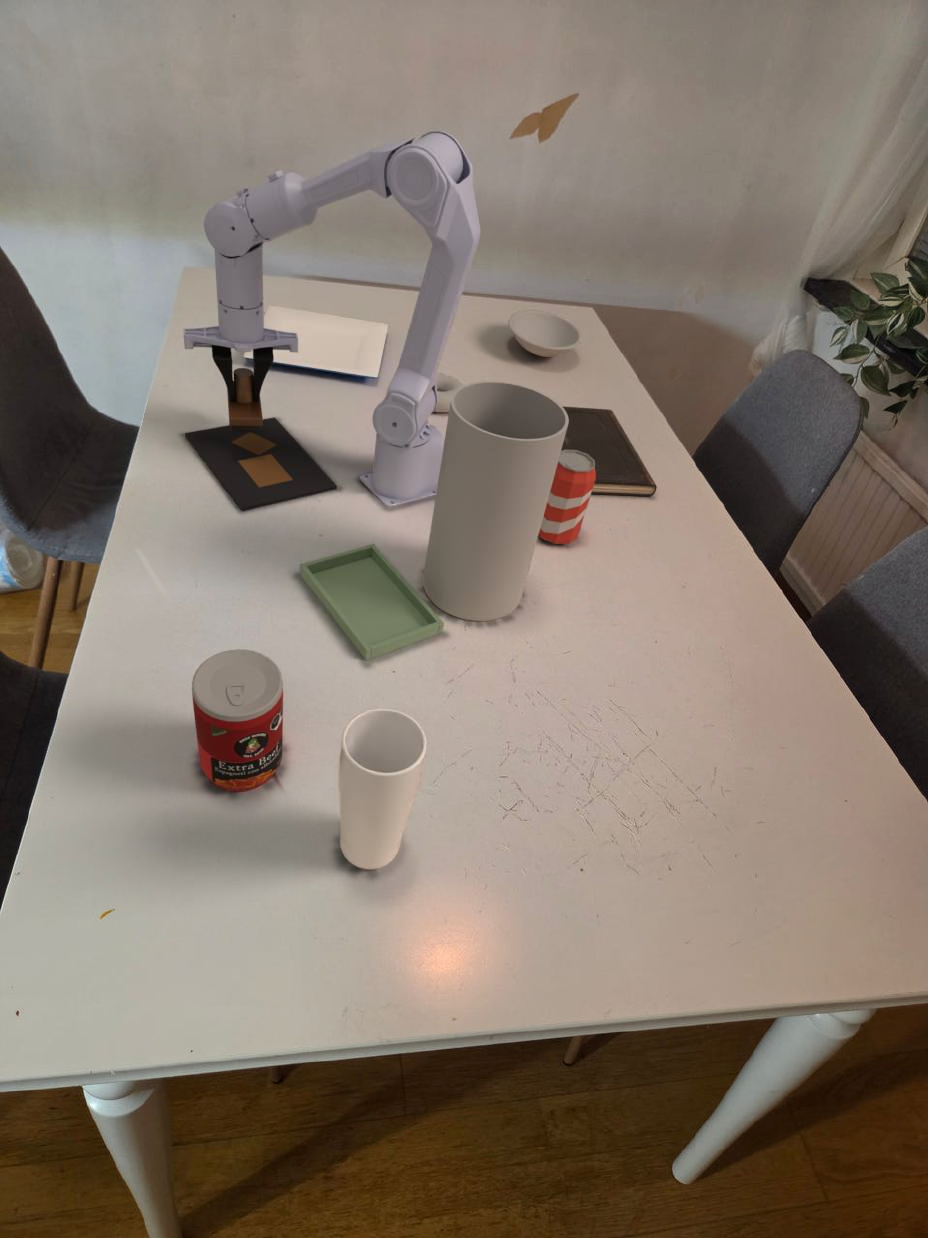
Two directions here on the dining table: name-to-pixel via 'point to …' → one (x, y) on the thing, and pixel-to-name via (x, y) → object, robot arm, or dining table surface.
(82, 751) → the dining table surface
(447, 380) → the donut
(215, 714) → the canned food
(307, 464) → the mat
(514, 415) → the cylinder vase
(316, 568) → the tray
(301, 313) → the plate
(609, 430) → the hardcover book
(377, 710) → the drinking glass
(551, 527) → the beverage can
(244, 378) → the brush
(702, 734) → the dining table surface
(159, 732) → the dining table surface
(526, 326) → the dish
